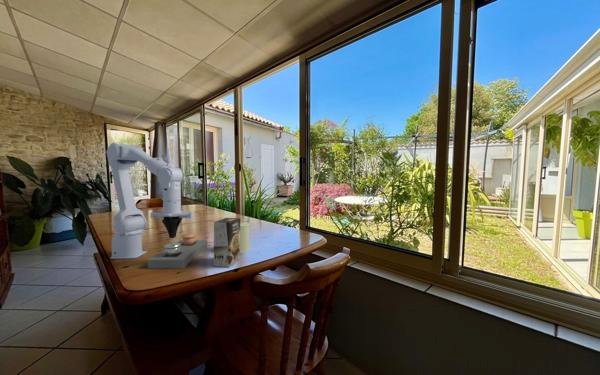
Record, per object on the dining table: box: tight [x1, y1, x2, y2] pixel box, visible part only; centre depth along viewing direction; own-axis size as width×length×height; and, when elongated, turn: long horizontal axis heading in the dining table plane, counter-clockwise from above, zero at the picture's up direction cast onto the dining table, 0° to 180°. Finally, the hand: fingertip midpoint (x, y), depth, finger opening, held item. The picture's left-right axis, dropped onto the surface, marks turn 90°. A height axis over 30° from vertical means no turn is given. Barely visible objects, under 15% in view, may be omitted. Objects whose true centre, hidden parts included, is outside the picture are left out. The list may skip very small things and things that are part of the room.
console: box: [147, 239, 208, 269], centre depth 97 cm, size 12×25×3 cm, turn 2°
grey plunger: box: [164, 242, 181, 257], centre depth 89 cm, size 5×5×4 cm
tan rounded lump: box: [181, 233, 196, 246], centre depth 103 cm, size 5×5×4 cm
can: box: [240, 221, 251, 254], centre depth 105 cm, size 9×9×12 cm
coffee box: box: [213, 217, 241, 268], centre depth 90 cm, size 9×6×16 cm
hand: (172, 237), depth 89 cm, fingers closed
